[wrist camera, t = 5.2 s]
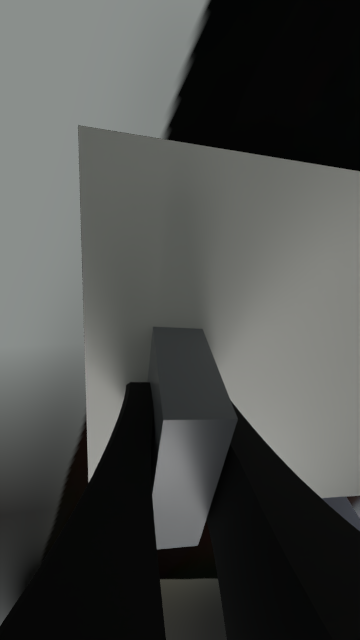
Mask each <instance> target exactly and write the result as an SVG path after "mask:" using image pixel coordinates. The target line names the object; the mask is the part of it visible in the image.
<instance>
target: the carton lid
mask: <svg viewBox="0 0 360 640" xmlns="http://www.w3.org/2000/svg"><path fill="white" fill-rule="evenodd" d="M78 136H79V171H80V206H81V240H82V272H83V274H82V275H83V307H84V308H83V309H84V341H85V342H84V343H85V375H86V411H87V446H88V480H89V481H90V479H91V477H92V475H93V474H94V471H95V469H96V467H97V465H98V463H99V461H100V459H101V457H102V455H103V453H104V450H105V448H106V446H107V444H108V442H109V439H110V437H111V434H112V432H113V429H114V427H115V424H116V422H117V419H118V416H119V413H120V410H121V407H122V404H123V400H124V396H125V391H126V385H127V384H128V383H130V382H150V385H151V391H152V399H153V413H152V443H151V486H152V499H153V511H154V523H155V534H156V545H157V549H166V548H177V547H187V546H198V543H199V540H200V537H201V534H202V531H203V528H204V524H205V521H206V518H207V515H208V512H209V509H210V506H211V502H212V499H213V496H214V493H215V490H216V487H217V484H218V480H219V477H220V474H221V471H222V468H223V465H224V462H225V458H226V455H227V452H228V449H229V446H230V443H231V439H232V436H233V433H234V430H235V427H236V424H237V421H238V418H237V415H236V413H235V410H234V408H233V405H232V403H231V401H232V402H233V404H234V405H235V406H236V407H237V409H238V410H239V411H240V412H241V414H242V415H243V416H244V417H245V419H246V420H247V421H248V422H249V423H250V425H251V426H252V427H253V428H254V429H255V430H256V431H257V433H258V434H259V435H260V436H261V437H262V438H263V440H264V441H265V442H266V443H267V444H268V445H269V446H270V447H271V448H272V450H273V451H274V452H275V453H276V454H277V455H278V456H279V457H280V458H281V459H282V460H283V461H284V462H285V463H286V464H287V466H288V467H289V468H290V469H291V470H292V471H293V472H294V473H295V474H296V475H297V476H298V477H299V478H300V479H301V480H302V481H303V482H305V483H306V484H307V485H308V486H309V487H310V488H311V489H312V490H313V491H314V492H315V493H316V494H317V495H319V496H320V497H321V498H331V497H345V496H359V495H360V171H355V170H349V169H342V168H336V167H330V166H324V165H318V164H312V163H306V162H300V161H294V160H287V159H281V158H275V157H269V156H263V155H257V154H251V153H245V152H239V151H232V150H226V149H220V148H214V147H208V146H202V145H196V144H190V143H184V142H177V141H171V140H165V139H159V138H153V137H147V136H141V135H134V134H129V133H122V132H116V131H110V130H104V129H98V128H92V127H86V126H80V125H79V126H78Z"/></svg>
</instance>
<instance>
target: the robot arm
mask: <svg viewBox="0 0 360 640" xmlns="http://www.w3.org/2000/svg"><path fill="white" fill-rule="evenodd" d="M231 403H232V405H233V408H234V410H235V413H236V415H237V418H238V421H237V424H236V427H235V430H234V433H233V436H232V439H231V443H230V446H229V449H228V452H227V455H226V458H225V462H224V465H223V468H222V471H221V474H220V477H219V480H218V484H217V487H216V490H215V493H214V496H213V499H212V502H211V506H210V509H209V512H208V515H207V518H206V520H207V524H208V528H209V532H210V536H211V541H212V546H213V551H214V556H215V562H216V568H217V575H218V581H219V587H220V594H221V601H222V608H223V615H224V622H225V629H226V636H227V640H360V518H359V517H358V515H357V513H356V512H355V510H354V509H353V507H352V505H351V504H350V502H349V501H348V499H347V497H346V496H345V497H331V498H321V497H320V496H319V495H317V494H316V493H315V492H314V491H313V490H312V489H311V488H310V487H309V486H308V485H307V484H306V483H305V482H303V481H302V480H301V479H300V478H299V477H298V476H297V475H296V474H295V473H294V472H293V471H292V470H291V469H290V468H289V467H288V466H287V464H286V463H285V462H284V461H283V460H282V459H281V458H280V457H279V456H278V455H277V454H276V453H275V452H274V451H273V450H272V448H271V447H270V446H269V445H268V444H267V443H266V442H265V441H264V440H263V438H262V437H261V436H260V435H259V434H258V433H257V431H256V430H255V429H254V428H253V427H252V426H251V425H250V423H249V422H248V421H247V420H246V419H245V417H244V416H243V415H242V414H241V412H240V411H239V410H238V409H237V407H236V406H235V405H234V404H233V402H232V401H231ZM152 413H153V399H152V391H151V385H150V382H130V383H128V384H127V385H126V391H125V396H124V400H123V404H122V407H121V410H120V413H119V416H118V419H117V422H116V424H115V427H114V429H113V432H112V434H111V437H110V439H109V442H108V444H107V446H106V448H105V450H104V453H103V455H102V457H101V459H100V461H99V463H98V465H97V467H96V469H95V471H94V474H93V475H92V477H91V479H90V481H89V483H88V485H87V487H86V489H85V491H84V493H83V495H82V496H81V498H80V500H79V502H78V504H77V505H76V507H75V509H74V511H73V512H72V514H71V516H70V518H69V519H68V521H67V523H66V524H65V526H64V528H63V529H62V531H61V533H60V534H59V536H58V538H57V539H56V541H55V543H54V544H53V546H52V548H51V549H50V551H49V553H48V554H47V556H46V557H45V559H44V561H43V562H42V564H41V565H40V567H39V569H38V570H37V572H36V573H35V575H34V576H33V578H32V580H31V581H30V583H29V584H28V586H27V587H26V588H25V590H24V591H23V593H22V594H21V596H20V597H19V599H18V600H17V602H16V603H15V605H14V606H13V608H12V609H11V611H10V612H9V614H8V615H7V617H6V618H5V620H4V621H3V623H2V624H1V626H0V640H166V637H165V627H164V617H163V608H162V597H161V588H160V578H159V567H158V556H157V545H156V534H155V523H154V511H153V499H152V486H151V443H152Z"/></svg>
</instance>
